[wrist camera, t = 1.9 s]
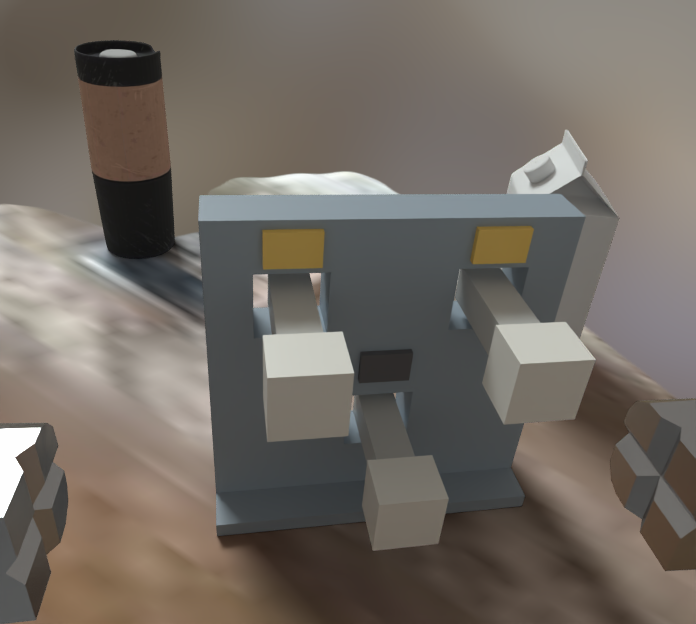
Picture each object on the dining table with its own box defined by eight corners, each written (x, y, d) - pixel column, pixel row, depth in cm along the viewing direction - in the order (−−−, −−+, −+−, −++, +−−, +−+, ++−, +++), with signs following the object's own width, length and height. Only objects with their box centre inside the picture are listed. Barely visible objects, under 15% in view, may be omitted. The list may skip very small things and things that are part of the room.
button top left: (267, 442, 28) (267, 378, 26) (255, 314, 36) (254, 258, 34) (348, 435, 29) (354, 373, 27) (318, 312, 37) (321, 257, 35)
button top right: (503, 424, 30) (520, 363, 28) (441, 307, 38) (451, 254, 36) (574, 419, 30) (596, 359, 28) (498, 305, 39) (511, 253, 37)
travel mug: (89, 253, 67) (54, 51, 56) (125, 223, 73) (100, 36, 62) (158, 265, 66) (136, 61, 55) (188, 233, 72) (174, 45, 61)
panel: (217, 535, 39) (197, 245, 28) (216, 442, 46) (200, 177, 35) (521, 506, 43) (609, 238, 32) (481, 423, 49) (542, 177, 38)
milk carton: (552, 331, 61) (611, 134, 50) (567, 378, 55) (637, 165, 44) (477, 322, 61) (521, 125, 51) (484, 368, 55) (535, 155, 45)
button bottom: (372, 550, 34) (379, 505, 32) (341, 419, 42) (345, 376, 40) (438, 543, 34) (448, 498, 32) (395, 415, 42) (401, 373, 40)
